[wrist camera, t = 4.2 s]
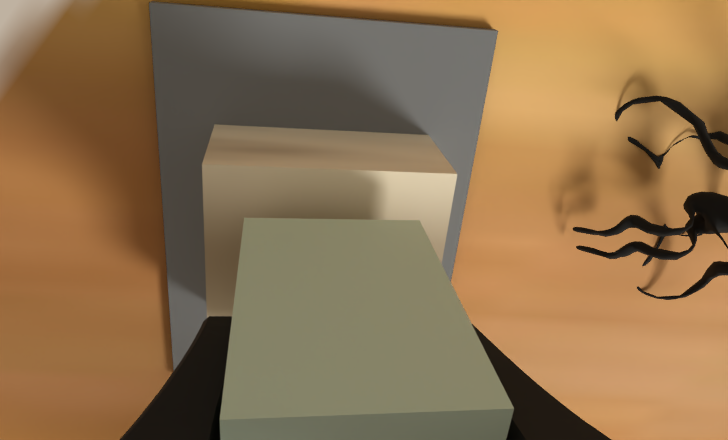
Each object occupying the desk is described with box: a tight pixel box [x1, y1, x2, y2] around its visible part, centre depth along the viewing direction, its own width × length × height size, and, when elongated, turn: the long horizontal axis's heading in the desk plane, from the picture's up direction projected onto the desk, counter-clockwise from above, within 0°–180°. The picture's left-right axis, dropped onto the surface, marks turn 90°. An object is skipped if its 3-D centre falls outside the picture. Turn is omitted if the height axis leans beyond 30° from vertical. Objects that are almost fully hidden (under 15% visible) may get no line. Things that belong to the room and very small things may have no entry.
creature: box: [573, 96, 728, 300], centre depth 17 cm, size 8×5×8 cm
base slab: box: [202, 124, 457, 318], centre depth 16 cm, size 6×6×3 cm
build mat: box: [149, 1, 498, 370], centre depth 18 cm, size 12×9×1 cm
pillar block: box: [220, 218, 514, 440], centre depth 11 cm, size 4×4×6 cm
